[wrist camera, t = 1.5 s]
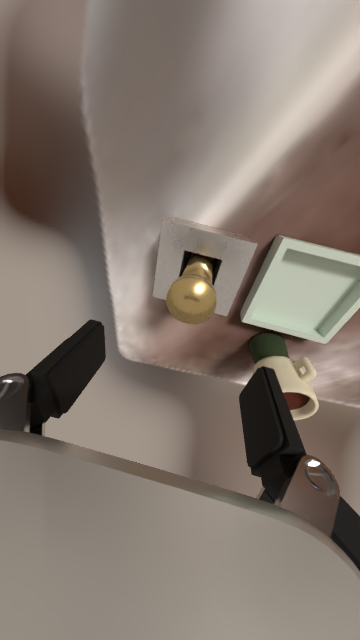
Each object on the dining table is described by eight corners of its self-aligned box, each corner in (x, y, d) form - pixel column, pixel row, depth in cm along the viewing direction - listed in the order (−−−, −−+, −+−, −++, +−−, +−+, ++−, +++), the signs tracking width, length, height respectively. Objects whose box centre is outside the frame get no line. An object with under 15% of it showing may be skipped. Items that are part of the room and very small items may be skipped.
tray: (276, 234, 24) (283, 237, 21) (378, 259, 24) (398, 266, 21) (239, 312, 31) (241, 321, 29) (317, 332, 31) (325, 344, 28)
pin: (190, 242, 26) (170, 272, 15) (220, 250, 26) (223, 286, 15) (184, 271, 29) (162, 316, 17) (211, 278, 29) (208, 328, 17)
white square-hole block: (172, 217, 25) (161, 220, 20) (249, 236, 25) (257, 244, 20) (162, 281, 31) (152, 296, 26) (225, 298, 30) (226, 316, 25)
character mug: (261, 366, 37) (279, 431, 27) (233, 352, 37) (240, 413, 26) (303, 332, 31) (348, 398, 21) (270, 314, 30) (300, 373, 20)
